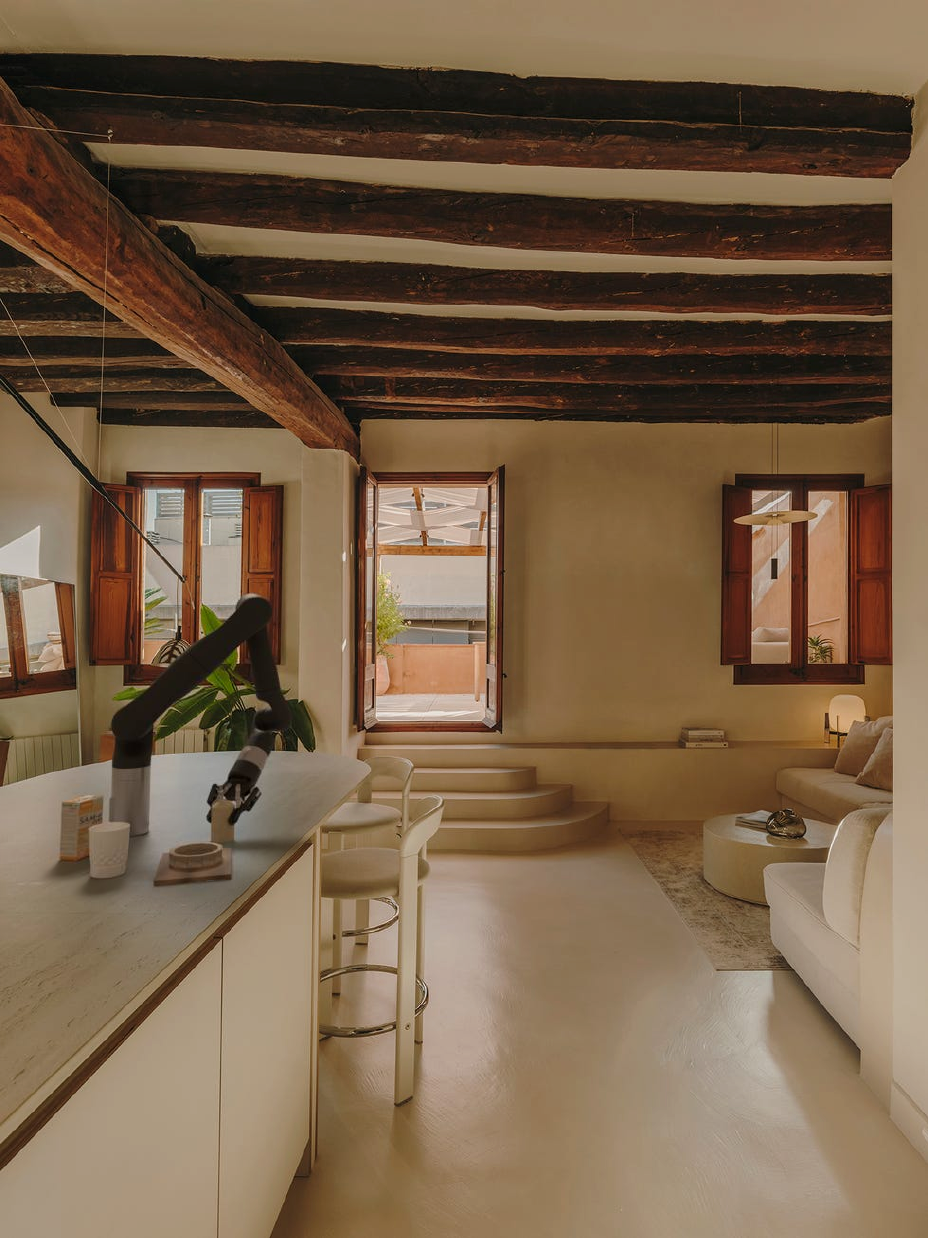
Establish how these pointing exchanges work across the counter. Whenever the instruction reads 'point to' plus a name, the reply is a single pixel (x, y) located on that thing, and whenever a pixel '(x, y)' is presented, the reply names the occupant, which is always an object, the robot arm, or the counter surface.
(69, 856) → the supplement box
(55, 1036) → the counter surface
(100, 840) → the white cup
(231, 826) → the candle
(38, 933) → the counter surface
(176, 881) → the candle holder tray
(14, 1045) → the counter surface
